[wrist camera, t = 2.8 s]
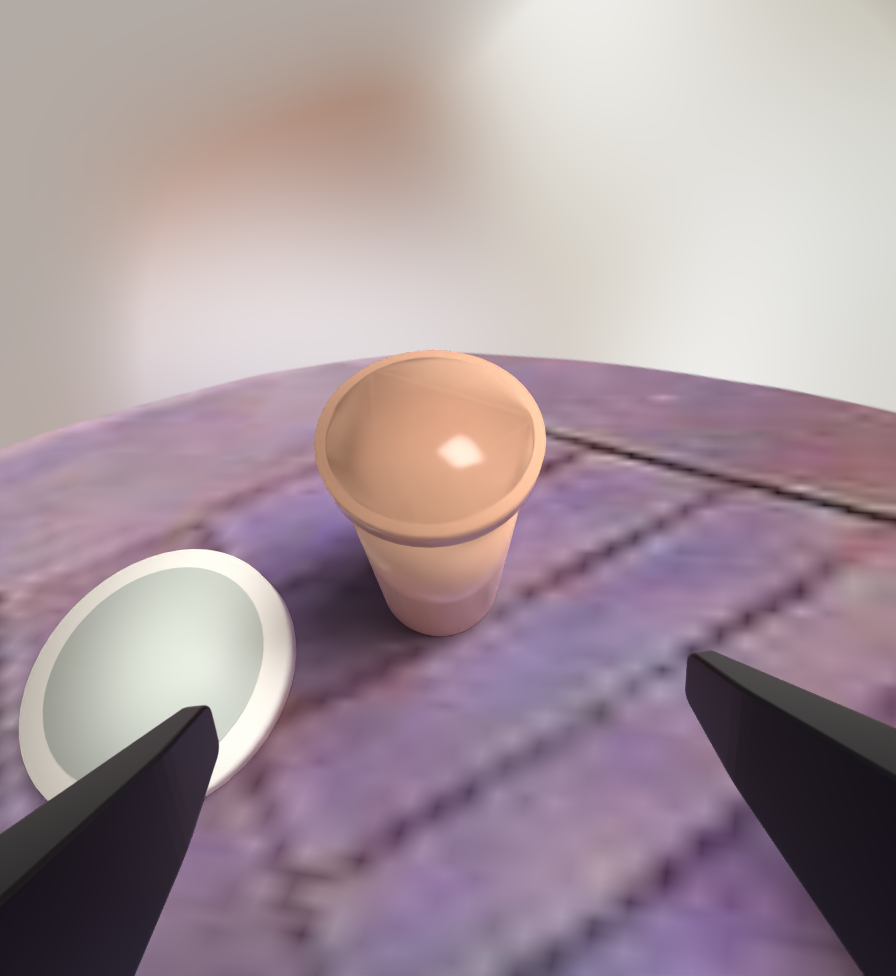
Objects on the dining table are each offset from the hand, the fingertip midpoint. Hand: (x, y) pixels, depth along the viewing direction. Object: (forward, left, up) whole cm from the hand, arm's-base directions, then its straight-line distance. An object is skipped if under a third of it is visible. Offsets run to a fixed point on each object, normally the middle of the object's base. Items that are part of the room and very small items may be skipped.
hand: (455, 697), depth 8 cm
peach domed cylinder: (+5, +5, -13) cm, 15 cm away
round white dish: (-6, +12, -13) cm, 18 cm away
